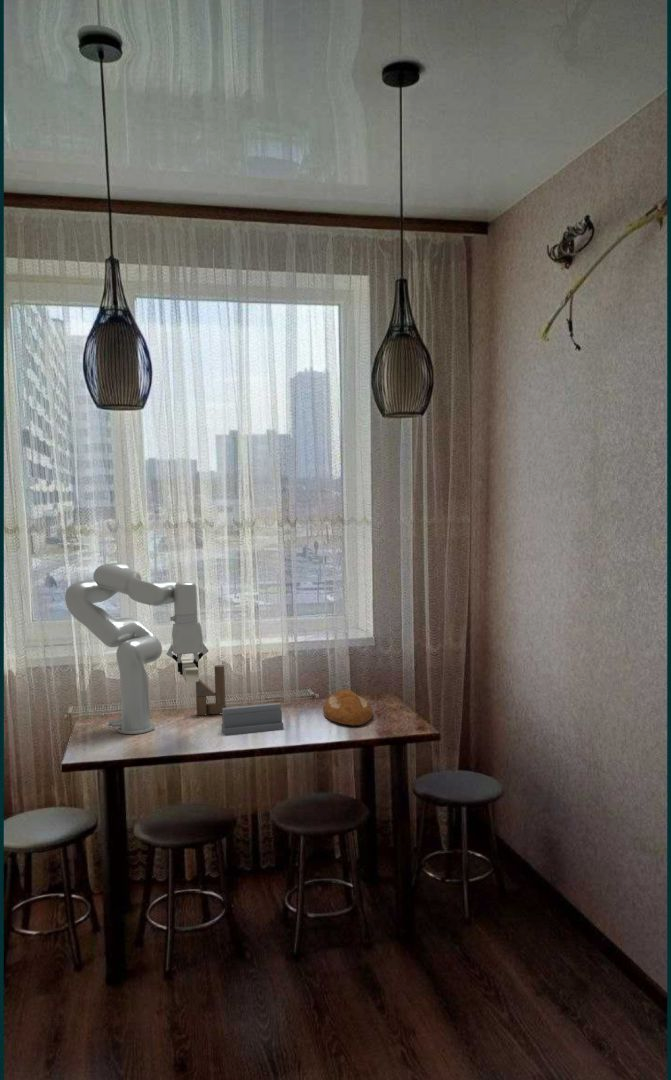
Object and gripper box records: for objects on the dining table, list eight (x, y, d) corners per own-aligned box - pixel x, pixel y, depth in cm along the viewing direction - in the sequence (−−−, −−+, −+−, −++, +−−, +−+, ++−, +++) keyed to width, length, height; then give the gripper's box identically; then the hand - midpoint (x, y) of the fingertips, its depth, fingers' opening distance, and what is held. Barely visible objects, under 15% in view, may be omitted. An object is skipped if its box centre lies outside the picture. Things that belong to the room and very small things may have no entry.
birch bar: (198, 681, 273) (198, 669, 273) (186, 682, 272) (185, 670, 272) (190, 668, 296) (189, 656, 296) (178, 669, 295) (178, 657, 295)
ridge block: (225, 735, 285) (224, 711, 285) (221, 729, 292) (220, 706, 292) (283, 729, 291) (282, 706, 290) (278, 723, 298) (277, 701, 298)
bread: (363, 703, 326) (363, 680, 326) (380, 727, 291) (379, 701, 291) (318, 706, 324) (317, 683, 323) (329, 730, 289) (328, 704, 288)
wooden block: (196, 713, 316) (195, 665, 315) (226, 712, 317) (224, 664, 316) (196, 716, 312) (195, 667, 311) (226, 714, 313) (224, 666, 313)
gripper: (161, 622, 278) (163, 677, 279) (212, 618, 282) (214, 673, 283) (159, 619, 285) (162, 673, 286) (209, 616, 290) (211, 669, 290)
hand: (188, 672), depth 284 cm, fingers closed on birch bar, 4 cm apart
